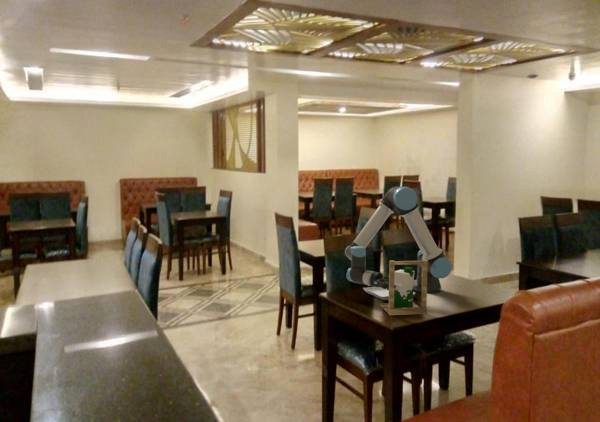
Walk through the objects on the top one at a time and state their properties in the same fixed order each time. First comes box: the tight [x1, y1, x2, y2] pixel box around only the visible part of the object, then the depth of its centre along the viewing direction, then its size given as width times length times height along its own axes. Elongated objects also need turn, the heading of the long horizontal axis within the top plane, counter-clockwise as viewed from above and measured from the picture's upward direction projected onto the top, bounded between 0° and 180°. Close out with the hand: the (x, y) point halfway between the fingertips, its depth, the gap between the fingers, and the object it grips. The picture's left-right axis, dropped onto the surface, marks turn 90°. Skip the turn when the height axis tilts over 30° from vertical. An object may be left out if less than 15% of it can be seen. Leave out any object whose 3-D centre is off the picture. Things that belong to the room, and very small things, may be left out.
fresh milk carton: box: [394, 266, 415, 308], centre depth 236 cm, size 9×9×20 cm
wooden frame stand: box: [379, 259, 428, 316], centre depth 235 cm, size 18×18×26 cm
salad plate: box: [362, 286, 416, 301], centre depth 261 cm, size 21×21×3 cm
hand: (409, 285), depth 234 cm, fingers open, 13 cm apart
